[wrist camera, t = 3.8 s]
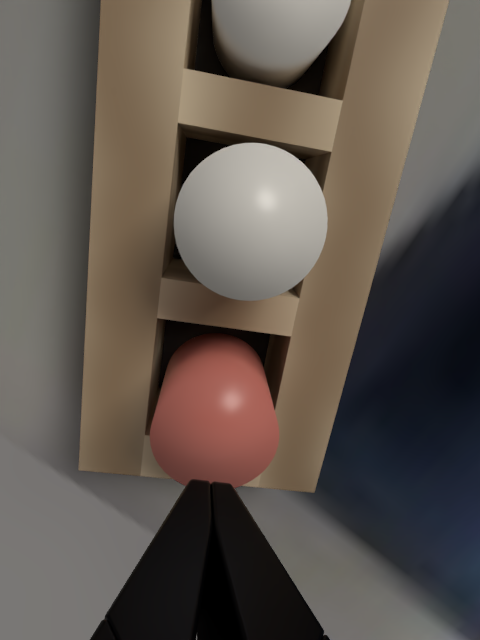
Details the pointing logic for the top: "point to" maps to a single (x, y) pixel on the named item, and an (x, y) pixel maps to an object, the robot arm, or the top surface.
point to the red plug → (214, 413)
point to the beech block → (165, 185)
